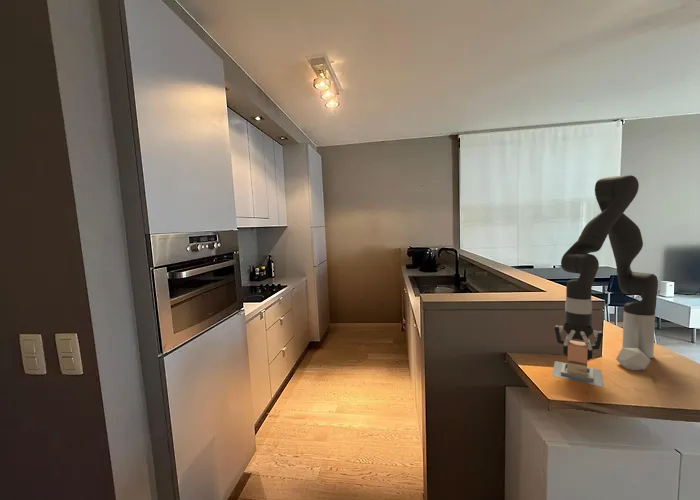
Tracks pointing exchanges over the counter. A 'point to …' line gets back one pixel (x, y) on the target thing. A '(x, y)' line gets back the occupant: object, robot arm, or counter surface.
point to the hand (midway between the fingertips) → (577, 357)
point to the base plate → (592, 374)
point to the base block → (577, 368)
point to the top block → (577, 351)
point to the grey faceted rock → (633, 359)
